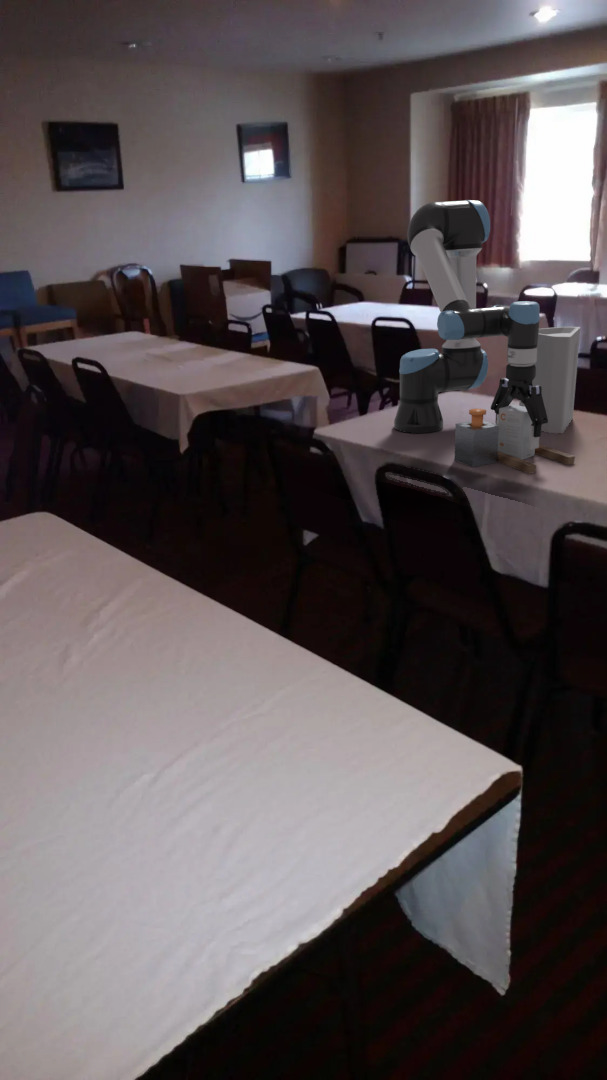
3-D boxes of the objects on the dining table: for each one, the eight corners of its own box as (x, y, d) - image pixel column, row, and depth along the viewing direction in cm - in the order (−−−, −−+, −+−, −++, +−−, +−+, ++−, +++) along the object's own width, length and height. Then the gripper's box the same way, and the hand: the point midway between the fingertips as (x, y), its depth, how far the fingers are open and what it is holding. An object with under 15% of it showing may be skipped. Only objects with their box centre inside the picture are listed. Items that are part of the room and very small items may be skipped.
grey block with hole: (454, 459, 217) (455, 423, 213) (478, 454, 220) (479, 419, 217) (472, 467, 211) (474, 430, 207) (497, 462, 214) (498, 425, 210)
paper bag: (525, 415, 258) (530, 326, 247) (573, 418, 252) (580, 326, 241) (511, 430, 242) (517, 335, 232) (562, 433, 236) (570, 336, 225)
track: (479, 454, 221) (480, 447, 220) (523, 445, 226) (523, 439, 226) (528, 473, 204) (529, 466, 203) (574, 463, 210) (574, 456, 209)
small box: (535, 455, 217) (538, 408, 212) (520, 460, 214) (523, 413, 209) (510, 450, 223) (513, 403, 218) (496, 454, 220) (498, 408, 215)
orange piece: (464, 435, 214) (465, 410, 211) (478, 432, 216) (479, 407, 213) (475, 438, 210) (476, 413, 208) (488, 436, 212) (489, 410, 209)
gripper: (479, 358, 218) (476, 434, 226) (543, 372, 197) (537, 455, 205) (501, 355, 221) (498, 430, 229) (566, 369, 200) (559, 451, 208)
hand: (516, 442), depth 217 cm, fingers open, 13 cm apart
